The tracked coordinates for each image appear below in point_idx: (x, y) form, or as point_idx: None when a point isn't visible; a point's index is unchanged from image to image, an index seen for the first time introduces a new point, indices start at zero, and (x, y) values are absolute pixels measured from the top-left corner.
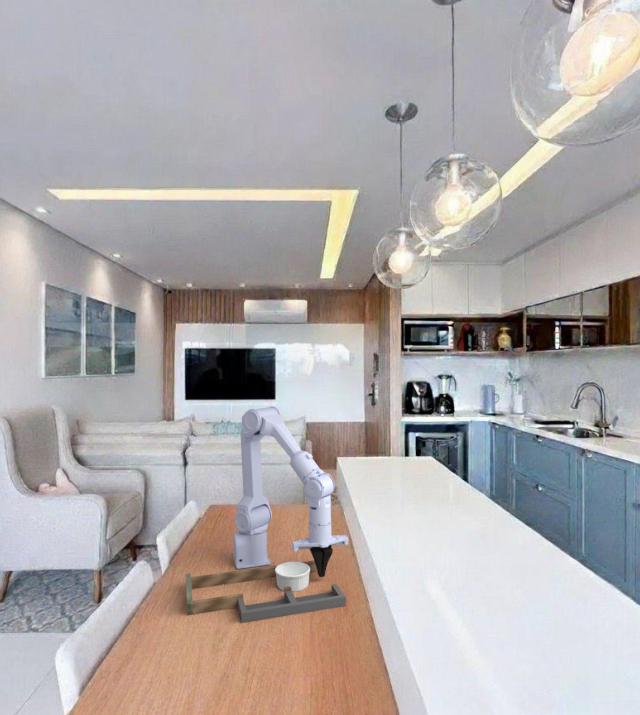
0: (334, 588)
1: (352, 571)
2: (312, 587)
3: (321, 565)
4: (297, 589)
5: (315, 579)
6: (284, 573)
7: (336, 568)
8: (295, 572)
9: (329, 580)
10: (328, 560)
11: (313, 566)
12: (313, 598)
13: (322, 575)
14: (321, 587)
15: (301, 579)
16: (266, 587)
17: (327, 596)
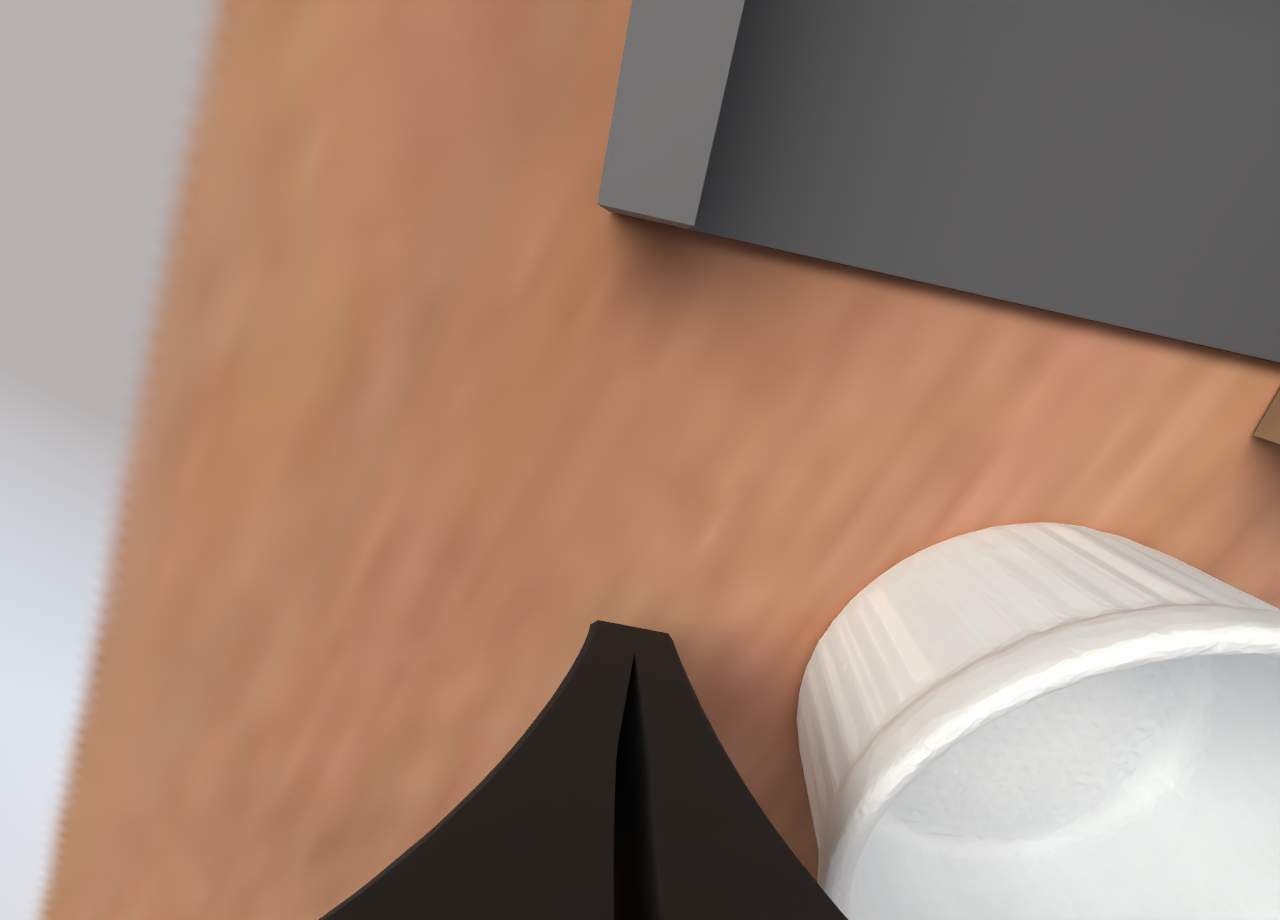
0: (739, 6)
1: (134, 651)
2: (827, 525)
3: (660, 754)
4: (1092, 530)
5: None
6: (1047, 912)
7: (303, 799)
8: (897, 879)
9: (523, 585)
10: (478, 795)
11: None
12: (1060, 174)
13: (632, 634)
14: (722, 465)
15: (1135, 591)
16: None
17: (834, 107)
